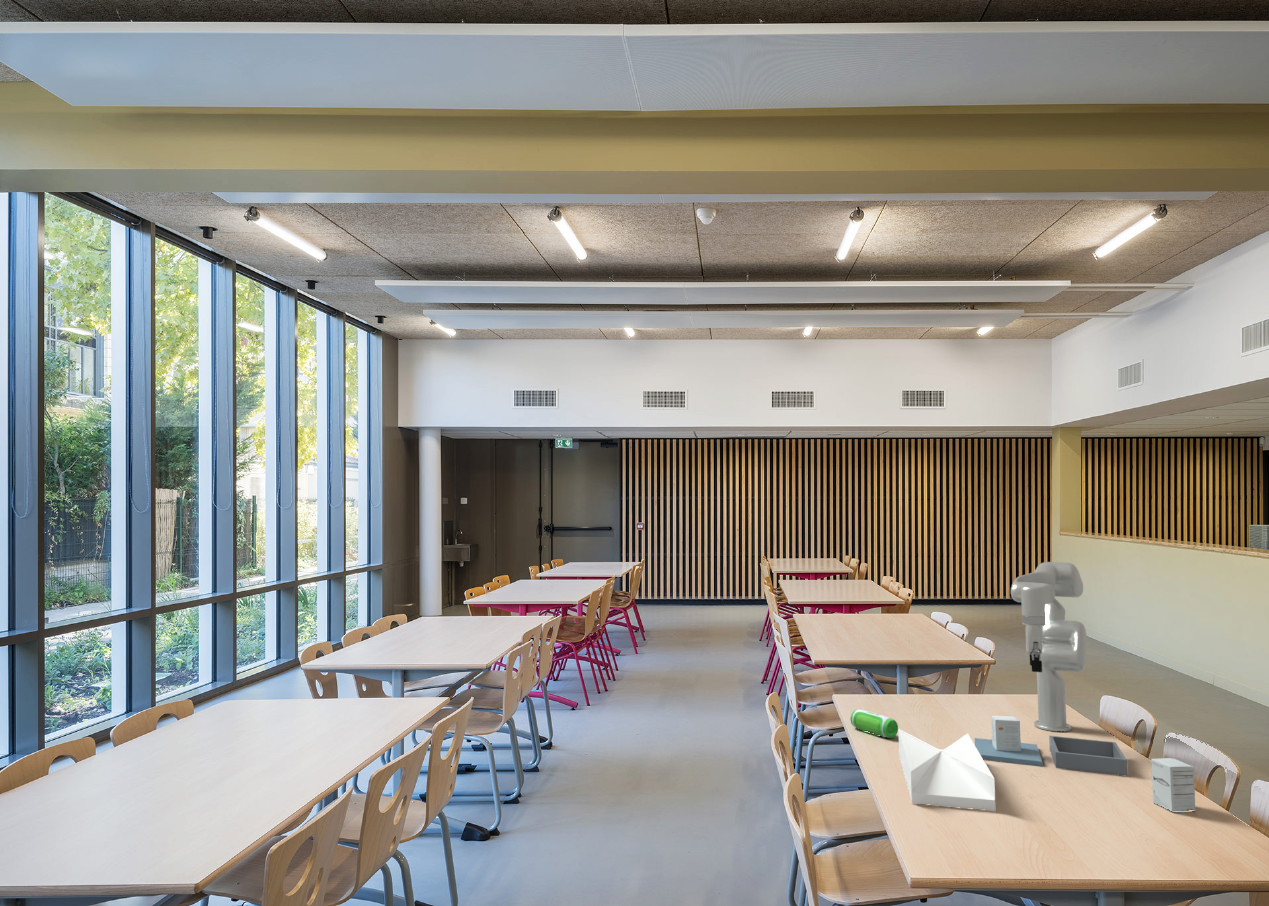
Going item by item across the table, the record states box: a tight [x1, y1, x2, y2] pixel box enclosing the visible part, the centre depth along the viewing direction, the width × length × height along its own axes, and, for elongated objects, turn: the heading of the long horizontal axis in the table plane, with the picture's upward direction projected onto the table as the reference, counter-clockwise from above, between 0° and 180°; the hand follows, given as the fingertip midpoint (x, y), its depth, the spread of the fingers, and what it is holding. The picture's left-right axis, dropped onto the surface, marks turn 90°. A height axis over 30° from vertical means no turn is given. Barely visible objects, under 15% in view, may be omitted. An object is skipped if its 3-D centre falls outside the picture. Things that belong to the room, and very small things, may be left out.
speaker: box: [850, 709, 899, 739], centre depth 292 cm, size 18×7×8 cm, turn 31°
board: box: [974, 737, 1043, 767], centre depth 267 cm, size 20×20×2 cm
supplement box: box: [1150, 757, 1196, 812], centre depth 220 cm, size 7×7×13 cm
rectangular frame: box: [1048, 735, 1129, 776], centre depth 258 cm, size 20×20×5 cm
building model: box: [897, 728, 996, 812], centre depth 241 cm, size 45×22×10 cm, turn 166°
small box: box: [991, 715, 1022, 752], centre depth 268 cm, size 8×6×10 cm
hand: (1035, 668), depth 277 cm, fingers open, 9 cm apart
